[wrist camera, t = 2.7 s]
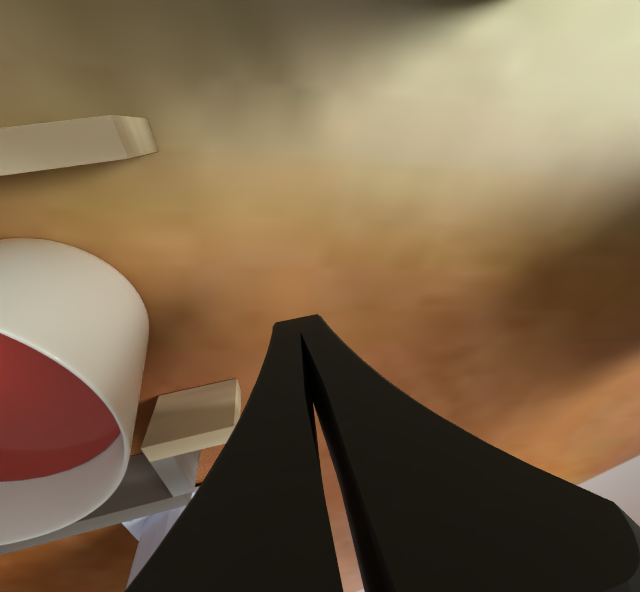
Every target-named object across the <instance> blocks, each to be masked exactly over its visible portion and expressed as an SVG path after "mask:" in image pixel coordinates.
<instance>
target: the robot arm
mask: <svg viewBox="0 0 640 592" xmlns="http://www.w3.org/2000/svg"><path fill="white" fill-rule="evenodd" d="M313 403H314V406H315V409H316V412H317V416H318V419H319V422H320V425H321V428H322V431H323V434H324V437H325V440H326V443H327V446H328V449H329V453H330V456H331V459H332V462H333V465H334V468H335V471H336V474H337V478H338V481H339V485H340V488H341V492H342V496H343V501H344V505H345V509H346V513H347V518H348V522H349V526H350V530H351V535H352V539H353V543H354V547H355V552H356V556H357V560H358V565H359V569H360V573H361V578H362V582H363V586H364V590H365V592H640V527H639V526H638V525H637V524H636V523H635V522H634V521H633V520H632V519H631V518H630V517H629V516H628V515H627V514H626V513H625V512H624V511H622V510H621V509H620V508H619V507H618V506H617V505H616V504H615V503H614V502H612V501H610V500H608V499H605V498H603V497H601V496H598V495H596V494H594V493H592V492H590V491H587V490H585V489H583V488H581V487H579V486H576V485H574V484H572V483H570V482H568V481H565V480H563V479H561V478H559V477H556V476H554V475H552V474H550V473H548V472H545V471H543V470H541V469H539V468H536V467H534V466H532V465H530V464H528V463H526V462H524V461H522V460H520V459H518V458H516V457H514V456H512V455H510V454H508V453H506V452H504V451H502V450H500V449H498V448H496V447H494V446H492V445H490V444H488V443H486V442H484V441H483V440H481V439H479V438H477V437H476V436H474V435H472V434H470V433H469V432H467V431H465V430H463V429H462V428H460V427H458V426H456V425H455V424H453V423H451V422H449V421H448V420H446V419H444V418H442V417H441V416H439V415H437V414H436V413H434V412H433V411H431V410H429V409H428V408H426V407H425V406H423V405H422V404H420V403H419V402H417V401H416V400H414V399H413V398H411V397H410V396H408V395H407V394H405V393H404V392H403V391H401V390H400V389H398V388H397V387H396V386H394V385H393V384H392V383H390V382H389V381H388V380H386V379H385V378H384V377H382V376H381V375H380V374H379V373H378V372H376V371H375V370H374V369H373V368H371V367H370V366H369V365H368V364H367V363H366V362H364V361H363V360H362V359H361V358H360V357H359V356H358V355H357V354H356V353H355V352H353V351H352V350H351V349H350V348H349V347H348V346H347V345H346V344H345V343H344V342H343V341H342V340H341V339H340V338H339V337H338V336H337V335H336V334H335V333H334V332H333V330H332V329H331V328H330V327H329V326H328V325H327V324H326V322H325V321H324V320H323V318H322V317H321V316H319V315H318V314H316V315H311V316H306V317H301V318H296V319H291V320H286V321H281V322H276V323H275V325H274V326H273V331H272V336H271V340H270V344H269V347H268V351H267V354H266V357H265V360H264V363H263V365H262V368H261V371H260V374H259V376H258V379H257V381H256V384H255V386H254V388H253V390H252V393H251V395H250V397H249V400H248V402H247V404H246V406H245V408H244V410H243V412H242V414H241V416H240V418H239V420H238V422H237V424H236V426H235V428H234V430H233V432H232V433H231V435H230V437H229V439H228V441H227V442H226V444H225V446H224V448H223V449H222V451H221V453H220V454H219V456H218V458H217V459H216V461H215V463H214V464H213V466H212V468H211V469H210V471H209V473H208V474H207V476H206V477H205V479H204V481H203V482H202V484H201V485H200V486H198V487H195V488H194V492H192V497H191V500H190V502H189V503H188V505H187V506H183V507H179V508H176V509H172V510H168V511H164V512H161V513H157V514H153V515H149V516H145V517H142V518H138V519H134V520H130V521H127V522H123V523H122V524H123V525H124V526H125V527H126V528H127V529H128V531H129V532H130V533H131V534H132V535H133V536H134V537H135V538H136V539H137V540H138V541H139V542H138V546H137V550H136V553H135V557H134V561H133V565H132V568H131V572H130V576H129V579H128V583H127V587H126V590H125V591H124V592H343V588H342V583H341V577H340V572H339V567H338V562H337V557H336V552H335V547H334V542H333V537H332V532H331V527H330V522H329V516H328V511H327V506H326V501H325V496H324V490H323V483H322V476H321V468H320V459H319V451H318V442H317V433H316V425H315V416H314V407H313Z"/></svg>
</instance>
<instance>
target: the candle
mask: <svg viewBox="0 0 640 592" xmlns="http://www.w3.org/2000/svg"><path fill="white" fill-rule="evenodd" d="M148 339H149V320H148V314H147V311H146V308H145V305H144V303H143V301H142V299H141V297H140V295H139V294H138V292H137V291H136V289H135V288H134V287H133V286H132V284H131V283H130V282H129V281H128V280H127V279H126V278H125V277H124V276H123V275H122V274H121V273H120V272H118V271H117V270H116V269H115V268H113V267H112V266H111V265H109V264H108V263H106V262H105V261H103V260H102V259H100V258H98V257H96V256H94V255H92V254H90V253H88V252H86V251H84V250H81V249H79V248H76V247H73V246H70V245H67V244H64V243H60V242H56V241H51V240H45V239H36V238H7V239H0V545H6V544H11V543H16V542H20V541H24V540H28V539H32V538H35V537H39V536H42V535H45V534H48V533H51V532H54V531H56V530H59V529H61V528H63V527H66V526H68V525H70V524H72V523H74V522H76V521H78V520H80V519H82V518H83V517H85V516H87V515H88V514H90V513H91V512H93V511H94V510H96V509H97V508H98V507H99V506H101V505H102V504H103V503H104V502H105V501H106V500H107V499H108V498H109V497H110V496H111V495H112V494H113V493H114V492H115V490H116V489H117V488H118V486H119V485H120V483H121V481H122V479H123V477H124V475H125V472H126V470H127V466H128V463H129V458H130V453H131V447H132V441H133V435H134V429H135V422H136V416H137V410H138V404H139V398H140V391H141V385H142V379H143V373H144V367H145V360H146V354H147V347H148Z"/></svg>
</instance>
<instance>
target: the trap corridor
mask: <svg viewBox="0 0 640 592" xmlns="http://www.w3.org/2000/svg"><path fill="white" fill-rule="evenodd" d="M153 152H158V149H157V146H156V143H155V140H154V138H153V135H152V132H151V129H150V126H149V123H148V120H147V118H139V117H129V116H118V115H104V116H96V117H87V118H79V119H70V120H62V121H53V122H45V123H36V124H28V125H19V126H11V127H2V128H0V176H3V175H10V174H18V173H25V172H32V171H40V170H47V169H55V168H62V167H70V166H77V165H85V164H92V163H99V162H107V161H114V160H122V159H129V158H133V157H137V156H141V155H145V154H149V153H153ZM240 412H241V389H240V386H239V384H238V381H237V378H236V379H232V380H227V381H223V382H218V383H214V384H209V385H205V386H200V387H196V388H191V389H187V390H182V391H178V392H173V393H169V394H164V395H160V396H159V397H158V400H157V403H156V405H155V408H154V411H153V414H152V417H151V420H150V423H149V426H148V429H147V432H146V434H145V437H144V440H143V443H142V446H141V450H142V451H143V453H142V454H138V455H134V456H130V458H129V463H128V466H127V470H126V472H125V475H124V477H123V479H122V481H121V483H120V485H119V486H118V488H117V489H116V490H115V492H114V493H113V494H112V495H111V496H110V497H109V498H108V499H107V500H106V501H105V502H104V503H103V504H102V505H101V506H99V507H98V508H97V509H96V510H94V511H93V512H91V513H90V514H88V515H87V516H85V517H83V518H82V519H80V520H78V521H76V522H74V523H72V524H70V525H68V526H66V527H63V528H61V529H59V530H56V531H54V532H51V533H48V534H45V535H42V536H39V537H35V538H32V539H28V540H24V541H20V542H16V543H11V544H6V545H0V555H3V554H7V553H10V552H14V551H18V550H22V549H25V548H29V547H33V546H37V545H40V544H44V543H48V542H52V541H55V540H59V539H63V538H67V537H70V536H74V535H78V534H82V533H85V532H89V531H93V530H97V529H100V528H104V527H108V526H112V525H115V524H119V523H123V522H127V521H130V520H134V519H138V518H142V517H145V516H149V515H153V514H157V513H161V512H164V511H168V510H172V509H176V508H179V507H183V506H187V505H188V503H189V502H190V500H191V497H192V492H194V488H195V482H196V476H197V469H198V463H199V457H200V450H201V449H204V448H208V447H212V446H217V445H221V444H225V443H226V442H227V441H228V439H229V437H230V435H231V433H232V432H233V430H234V428H235V426H236V424H237V422H238V420H239V418H240Z"/></svg>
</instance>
